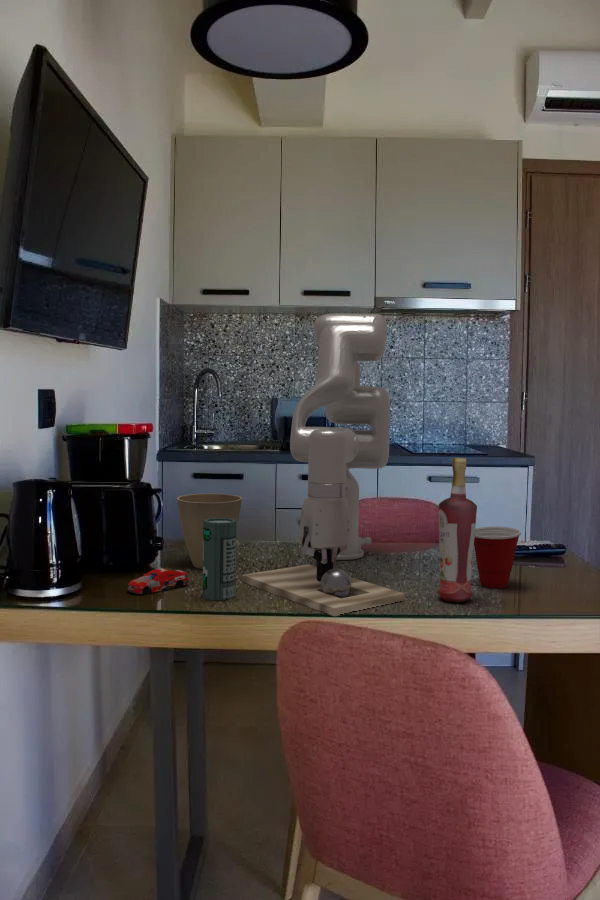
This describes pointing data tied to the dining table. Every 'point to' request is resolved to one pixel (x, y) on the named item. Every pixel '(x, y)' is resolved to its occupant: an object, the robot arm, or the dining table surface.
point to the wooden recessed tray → (320, 590)
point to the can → (219, 558)
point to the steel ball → (336, 583)
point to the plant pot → (204, 518)
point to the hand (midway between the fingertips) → (324, 581)
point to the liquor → (456, 538)
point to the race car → (158, 581)
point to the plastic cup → (495, 554)
